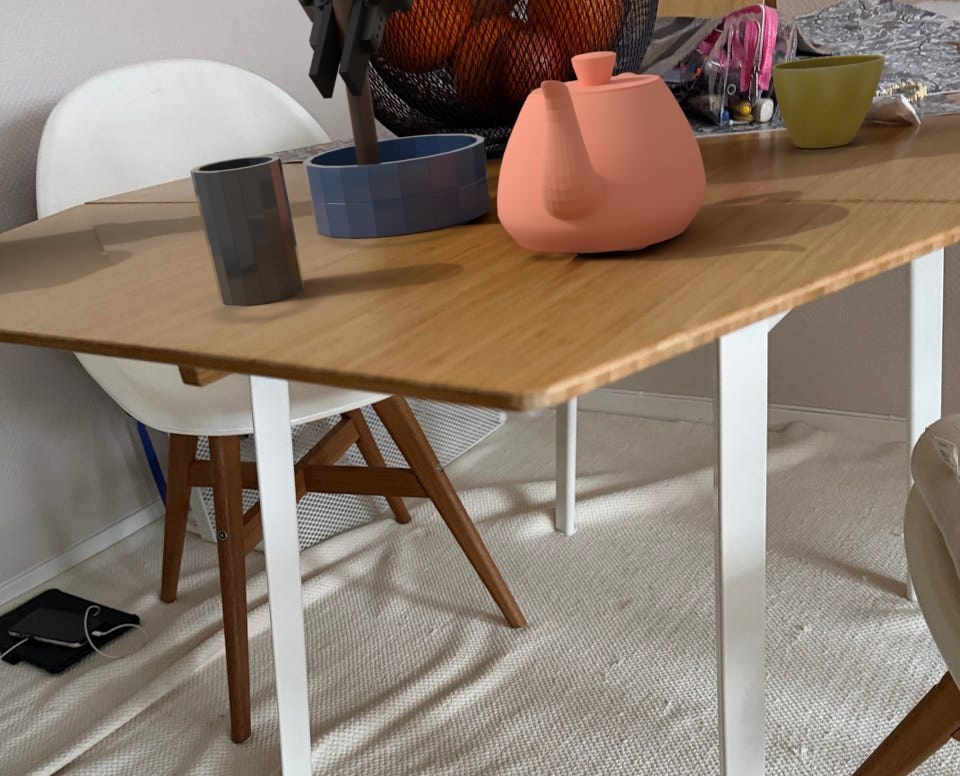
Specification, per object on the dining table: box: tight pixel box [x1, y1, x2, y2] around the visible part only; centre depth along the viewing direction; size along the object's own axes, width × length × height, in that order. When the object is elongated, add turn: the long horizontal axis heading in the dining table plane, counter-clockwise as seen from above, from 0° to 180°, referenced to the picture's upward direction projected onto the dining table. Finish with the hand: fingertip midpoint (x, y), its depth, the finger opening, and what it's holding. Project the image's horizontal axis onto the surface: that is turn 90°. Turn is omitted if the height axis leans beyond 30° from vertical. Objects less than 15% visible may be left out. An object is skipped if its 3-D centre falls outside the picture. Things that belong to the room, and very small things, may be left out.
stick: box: [332, 0, 381, 165], centre depth 90 cm, size 2×2×20 cm
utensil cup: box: [189, 155, 306, 307], centre depth 74 cm, size 6×6×9 cm
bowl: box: [302, 133, 492, 239], centre depth 93 cm, size 15×15×6 cm
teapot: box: [496, 51, 707, 254], centre depth 77 cm, size 22×15×12 cm
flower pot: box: [771, 54, 886, 149], centre depth 104 cm, size 10×10×7 cm
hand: (335, 85), depth 87 cm, fingers closed on stick, 2 cm apart
